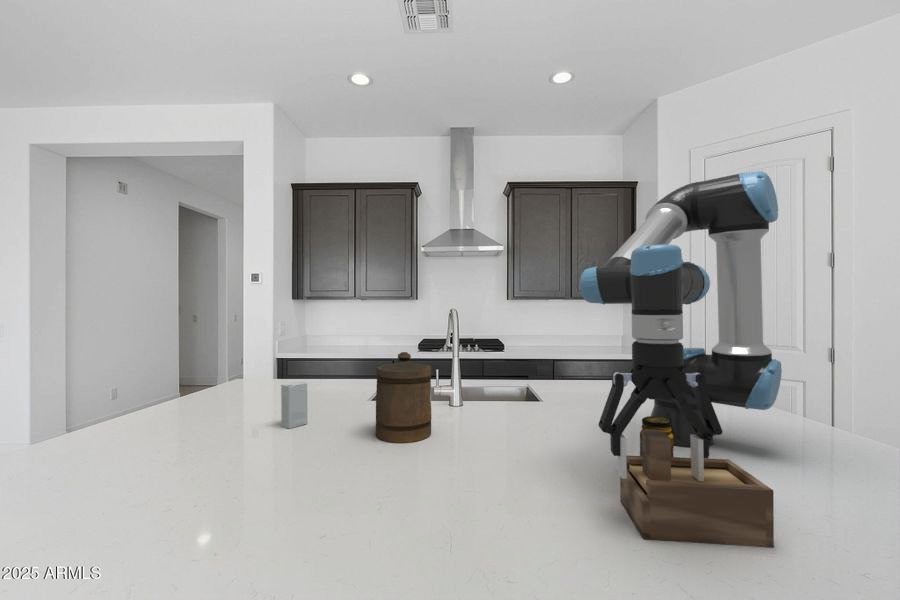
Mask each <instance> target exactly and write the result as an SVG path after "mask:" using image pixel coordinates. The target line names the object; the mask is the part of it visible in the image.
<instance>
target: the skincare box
mask: <svg viewBox="0 0 900 600" xmlns="http://www.w3.org/2000/svg"><path fill="white" fill-rule="evenodd" d="M280 388H281V389H280V393H281V395H280V396H281V397H280V400H281V404H280V405H281V409H280V411H281V418H280V419H281V426H282V427H284V428H286V429H293V428H296V427H301V426H304V425H307V424H308V383H307V382H303V381H296V382H290V383H284V384H283V383H282V384H281V385H280Z"/></svg>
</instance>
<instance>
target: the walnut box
mask: <svg viewBox="0 0 900 600" xmlns="http://www.w3.org/2000/svg"><path fill="white" fill-rule="evenodd" d="M629 464H639V465H643V463H642V456H640V455H629V454H628V455H627V454H626V466H627V479H622V478H621V477H620V476H619V477H620V479H619V481H620V484H619V485H620V488H619V489H620V492H619V493H620V496H619V497H620V499H619V500H620V503H621V505H622V506H623V508H624V510H625V511H626V513H627V514H628V517H629V518H630V520H631V521H632V523H633V525H634V526H635V528H636V530H637V531H638V533H639V535H640V536H641V538H642V539H643V540H649V541H650V540H651V541H664V542H665V541H669V542H683V543H699V544H700V543H701V544H717V545H732V546H747V547H762V548H765V547H766V548H774V547H775V546H774V544H775V542H774V541H775V539H774V537H775V536H774V535H775V534H774V533H775V532H774V531H775V530H774V529H775V528H774V521H775V520H774V519H775V517H774V515H775V513H774V510H775V508H774V507H775V506H774V490H773V489H772V488H771V487H769V486H768V485H766V484H765V483H764V482H763V481H761V480H760V479H757V478H756V477H755V476H753V475H752V474H751V473H749V472H748V471H746V470H745V469H743V468H742V467H740V466H739V465H737V463H735V462H733V461H732V460H730V459H726V458H725V459H724V458H704V467H710V468H724V469H725V470H727V471H728V472H729V473H731V474H732V475H733V476H735V477H736V478H737V479H739V480H740V481H741V482H743V483H744V484H728V483H707V482H685V481H663V480H646V486H647V487H648V488H649V495H648V493H647V492H646V491H645V489H644V488H643V487H642V486H641V484H640V483H639V482H638V480H637V479H636V478H635V476H634V475H633V474H632V472H631V471H630V470H629ZM671 466H686V467H691V457H677V456H673V457H671Z"/></svg>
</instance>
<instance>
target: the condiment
mask: <svg viewBox="0 0 900 600" xmlns="http://www.w3.org/2000/svg"><path fill="white" fill-rule="evenodd" d="M641 424H642V425H641V429H640V432H639V456H642V430H661V431H663V432H664V433H665V434H666V435H668V436H669V437H670V438H671V457H674V445H673V435H672V434H671V422H670V421H669V420H668V419H666V418H662V417H655V416H651V415H650V416H644V417H642V419H641Z"/></svg>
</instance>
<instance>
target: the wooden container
mask: <svg viewBox="0 0 900 600" xmlns="http://www.w3.org/2000/svg"><path fill="white" fill-rule="evenodd" d="M411 358H412V356H411V354H410V353H408V352H407V351H404V352H403V351H402V352H400V353H398V354H397V359H398V361H397V362H394V363H387V364H386V363H385V364H380V365H379V366H377V367H376V395H375V396H376V397H375V436H376V438H377V439H378V440H381V441H384V442H387V443H388V442H389V443H395V444H396V443H397V444H398V443H399V444H404V443H405V444H407V443H414V442H419V441H422V440H425V439H427V438H429V437H430V436H431V434H432V381H431V380H432V366H431V365H428V364H426V363H419V362H417V363H416V362H412V361H411V360H410V359H411Z"/></svg>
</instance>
